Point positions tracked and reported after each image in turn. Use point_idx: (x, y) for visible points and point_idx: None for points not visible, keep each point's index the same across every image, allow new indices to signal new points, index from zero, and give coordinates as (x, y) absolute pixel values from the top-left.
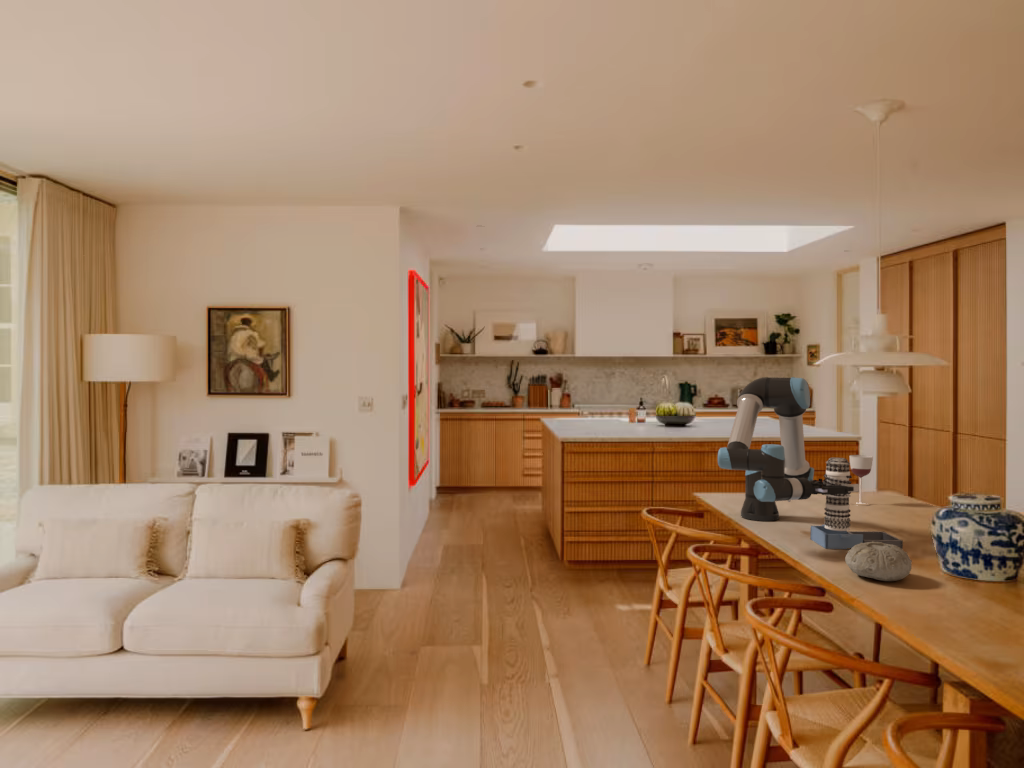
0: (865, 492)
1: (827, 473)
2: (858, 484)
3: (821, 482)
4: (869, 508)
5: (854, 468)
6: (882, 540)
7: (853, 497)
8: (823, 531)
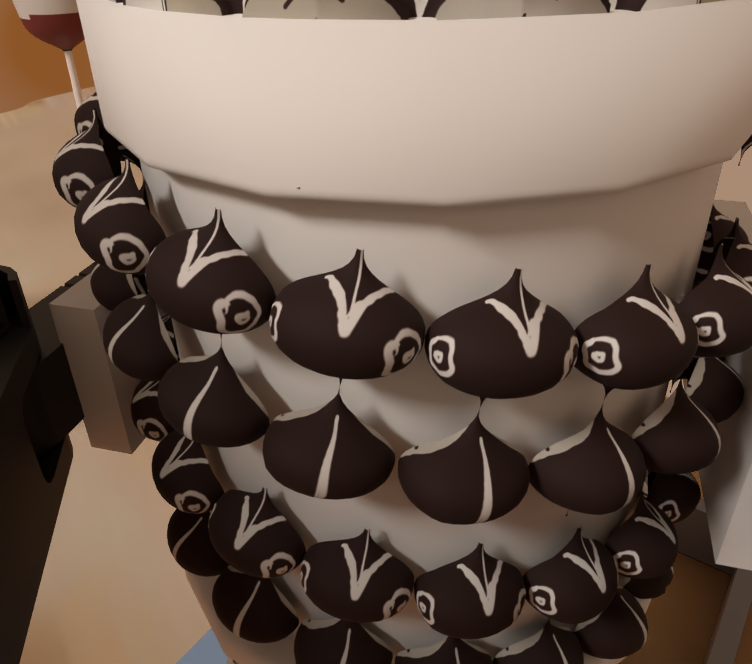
0: (62, 96)
1: (243, 127)
2: (747, 213)
3: (33, 370)
4: (139, 169)
5: (37, 15)
6: (737, 641)
7: (45, 126)
8: None
